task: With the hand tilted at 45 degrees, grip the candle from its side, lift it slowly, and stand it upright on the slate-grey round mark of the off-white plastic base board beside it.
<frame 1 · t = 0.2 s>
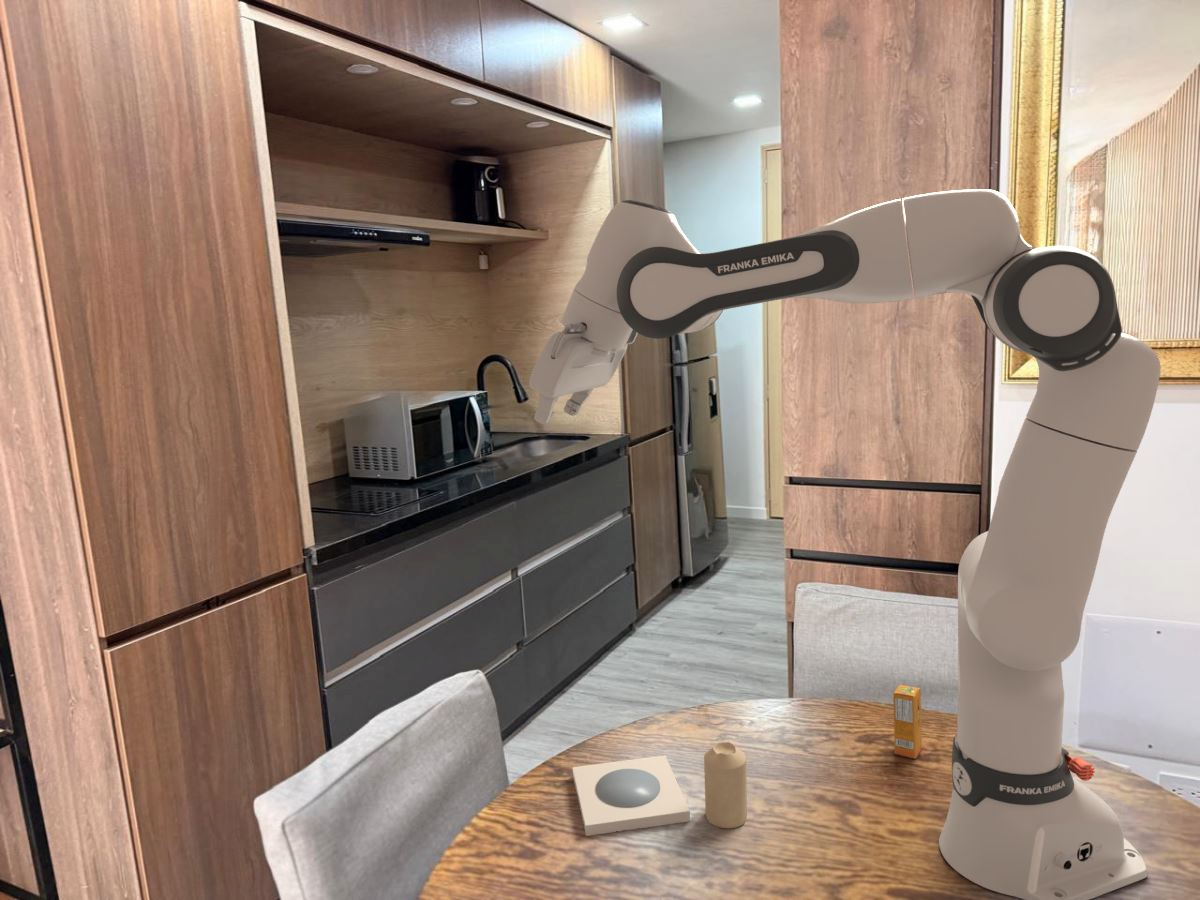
hand: (556, 417, 108), 54 cm above the table, tool tilted 30°, fingers open, 8 cm apart
supplement box: (906, 753, 122), on the table
candle: (726, 817, 108), on the table
base board: (628, 797, 114), on the table
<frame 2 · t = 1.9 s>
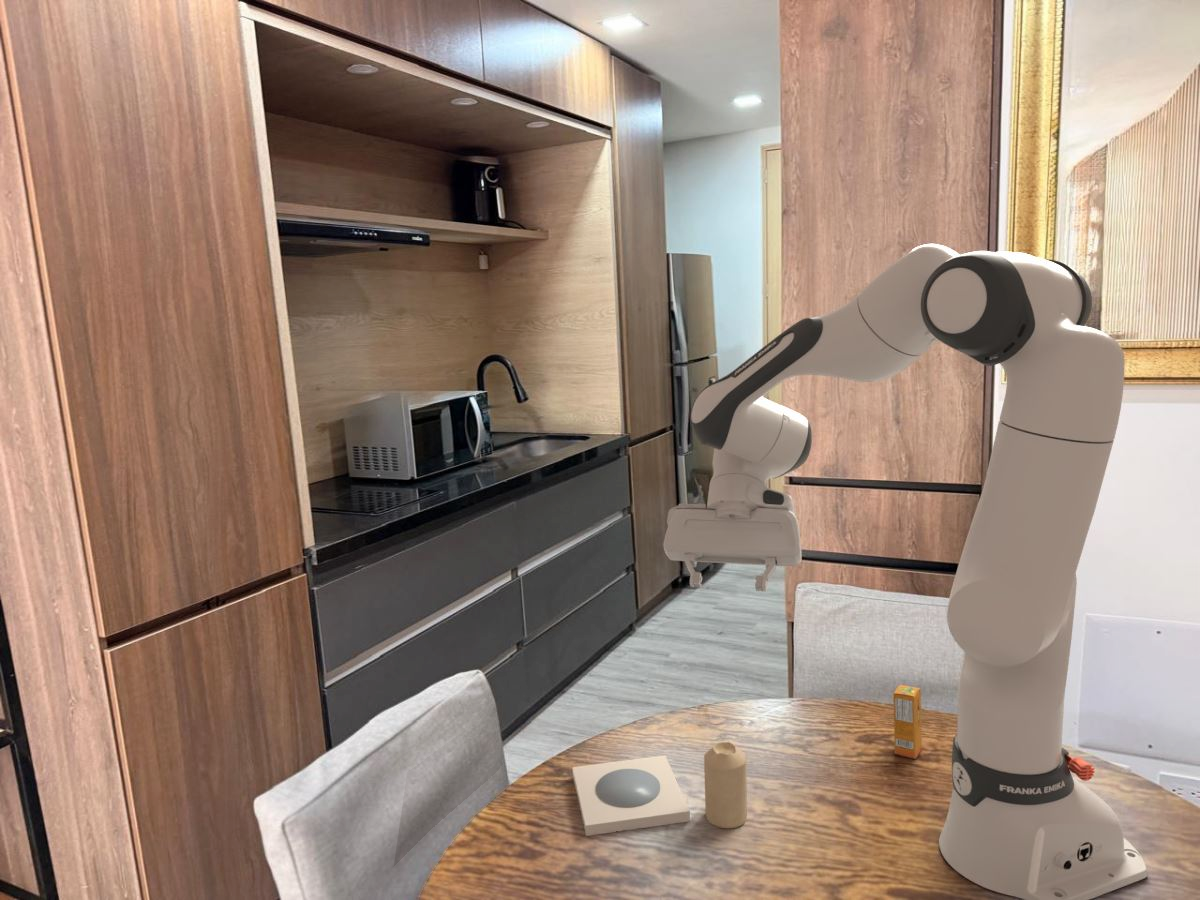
hand: (727, 587, 117), 27 cm above the table, tool tilted 45°, fingers open, 8 cm apart
nothing on the table moved.
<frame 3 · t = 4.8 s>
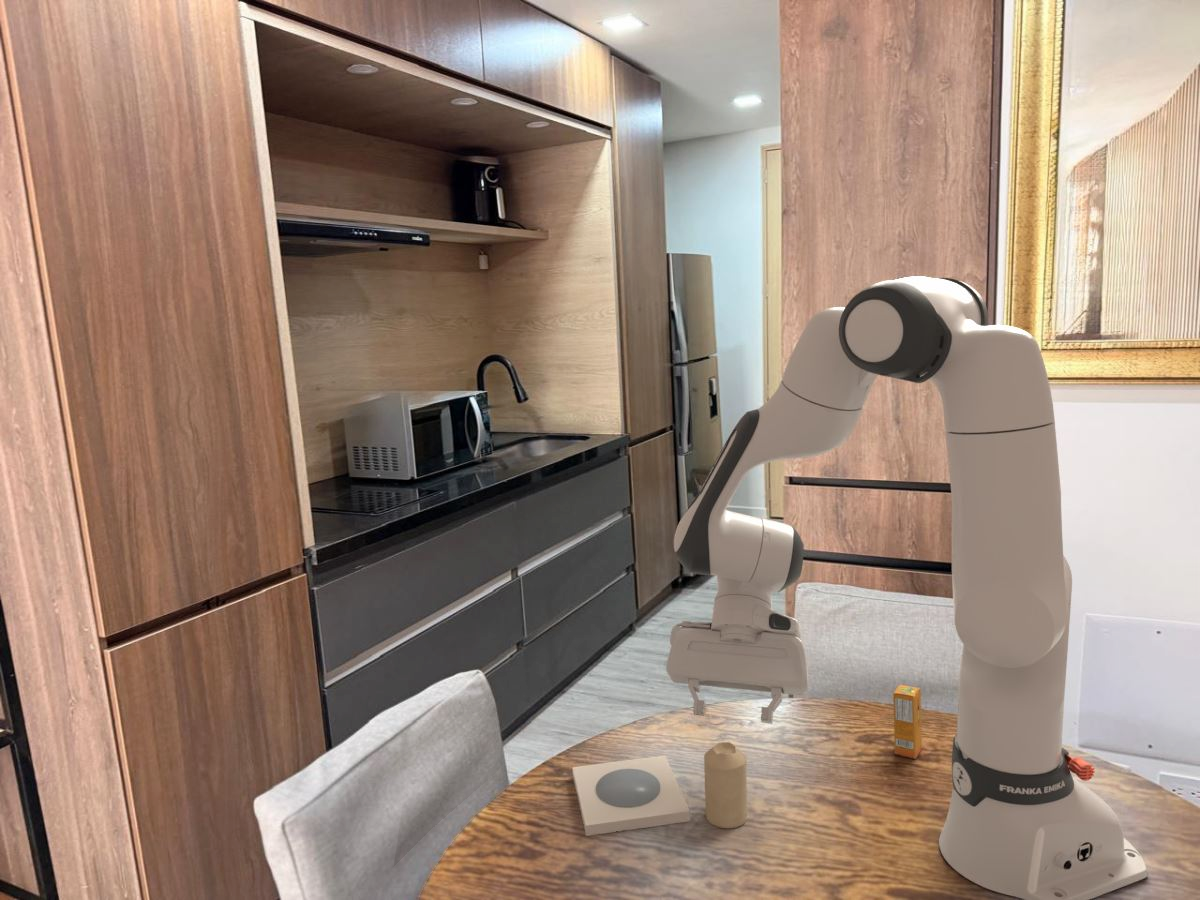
hand: (732, 718, 113), 11 cm above the table, tool tilted 45°, fingers open, 8 cm apart
nothing on the table moved.
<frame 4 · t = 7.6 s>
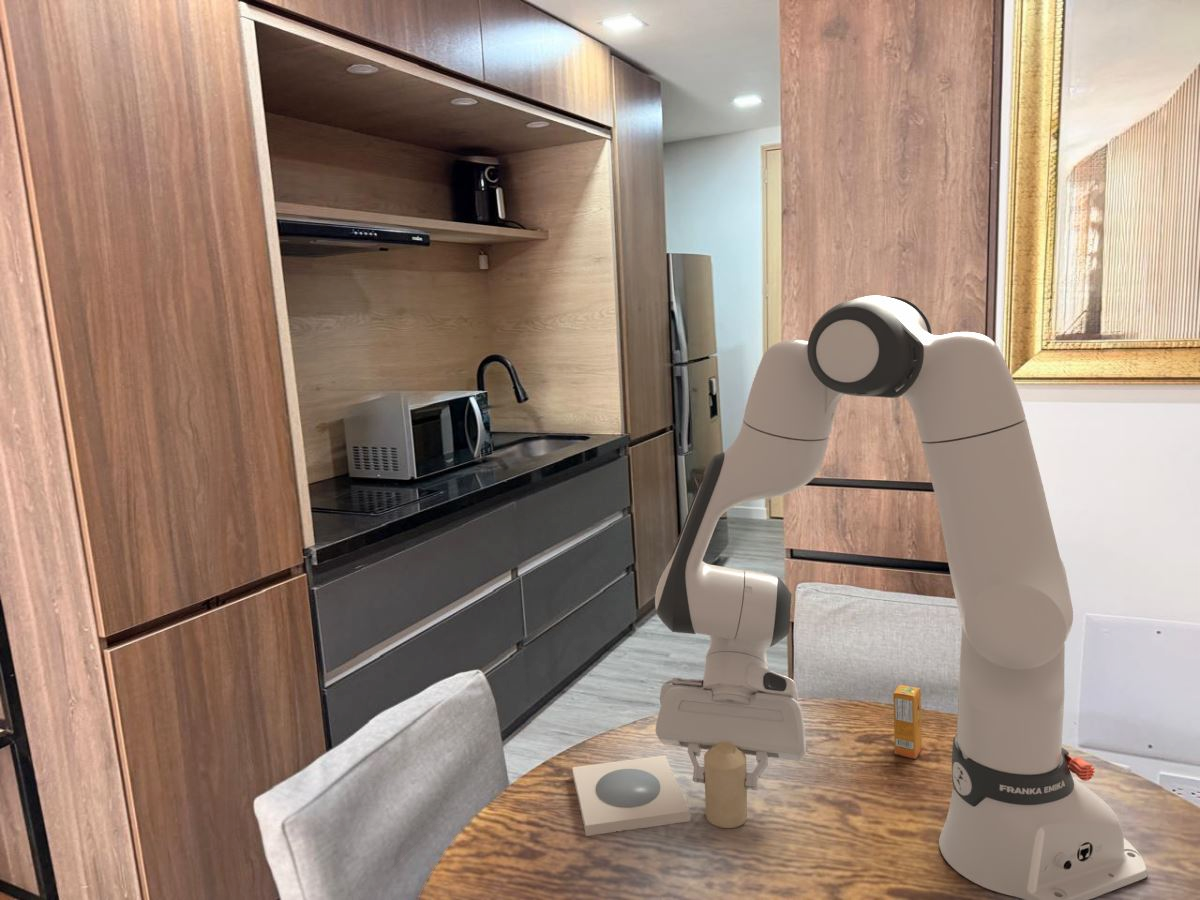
hand: (724, 785, 107), 5 cm above the table, tool tilted 45°, fingers closed on candle, 5 cm apart
candle: (726, 817, 108), on the table, touching gripper
everything else where it was.
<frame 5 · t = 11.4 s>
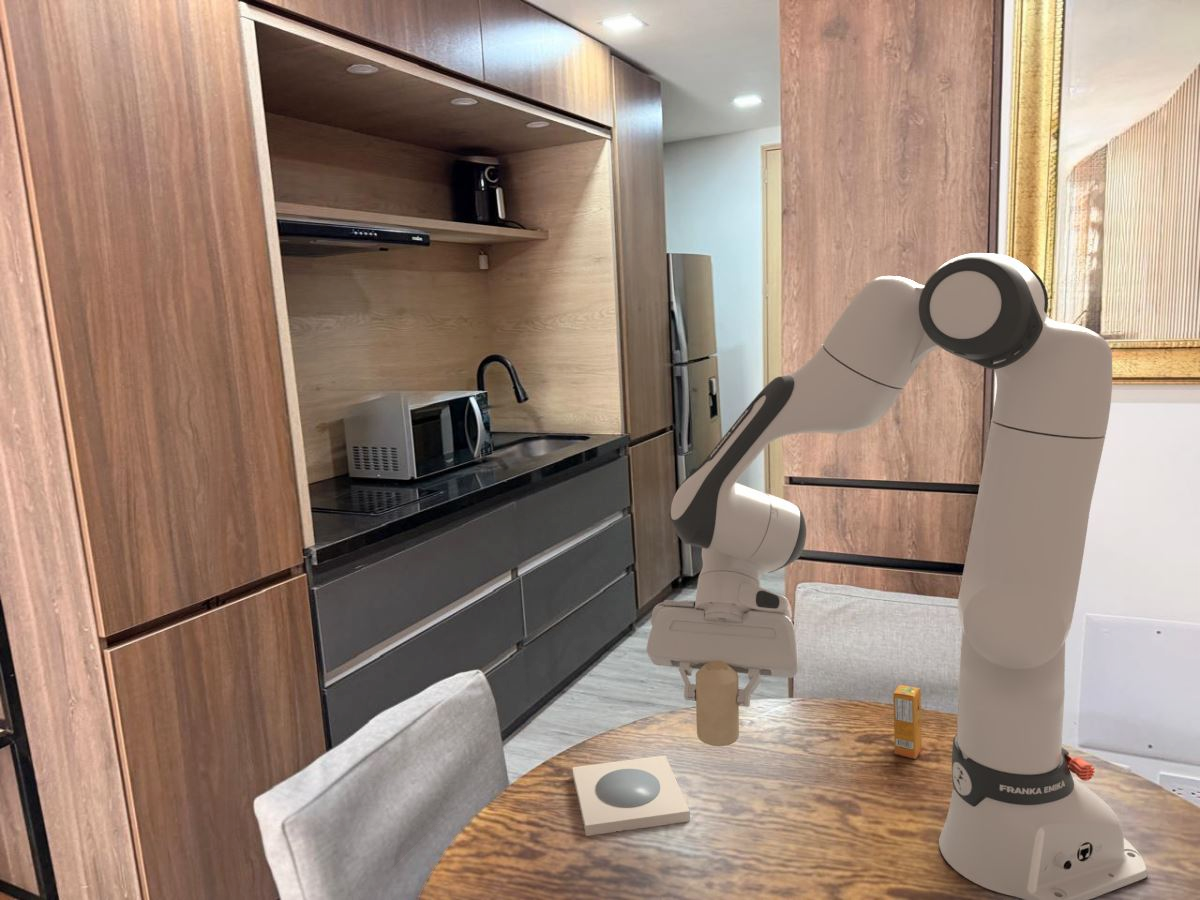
hand: (716, 702, 105), 17 cm above the table, tool tilted 45°, fingers closed on candle, 5 cm apart
candle: (717, 737, 107), point 11 cm above the table, touching gripper
everything else where it was.
when the fingers open (7 cm above the table, at t = 15.4 s): candle stays where it is, resting on base board.
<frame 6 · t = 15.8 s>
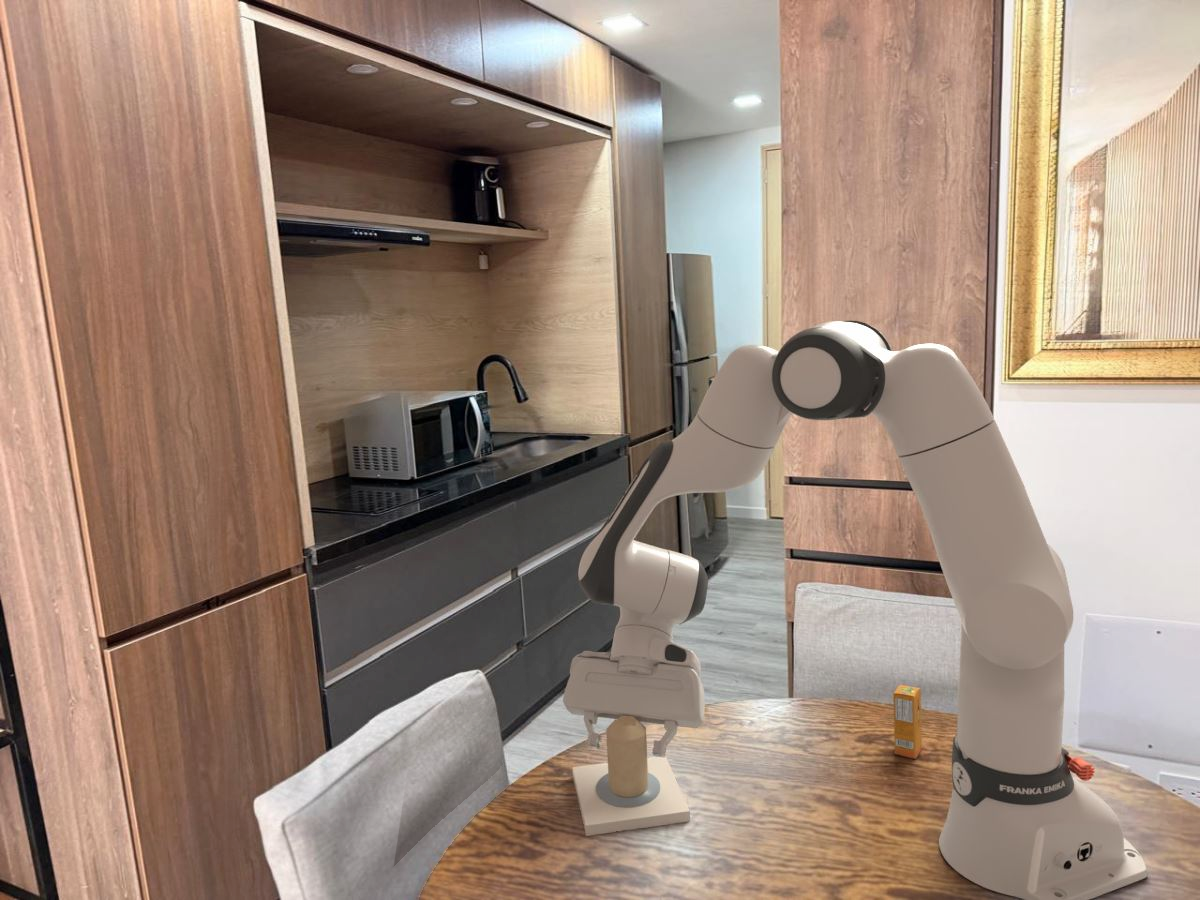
hand: (625, 751, 112), 7 cm above the table, tool tilted 45°, fingers open, 8 cm apart
candle: (628, 787, 113), point 2 cm above the table, touching base board
everything else where it was.
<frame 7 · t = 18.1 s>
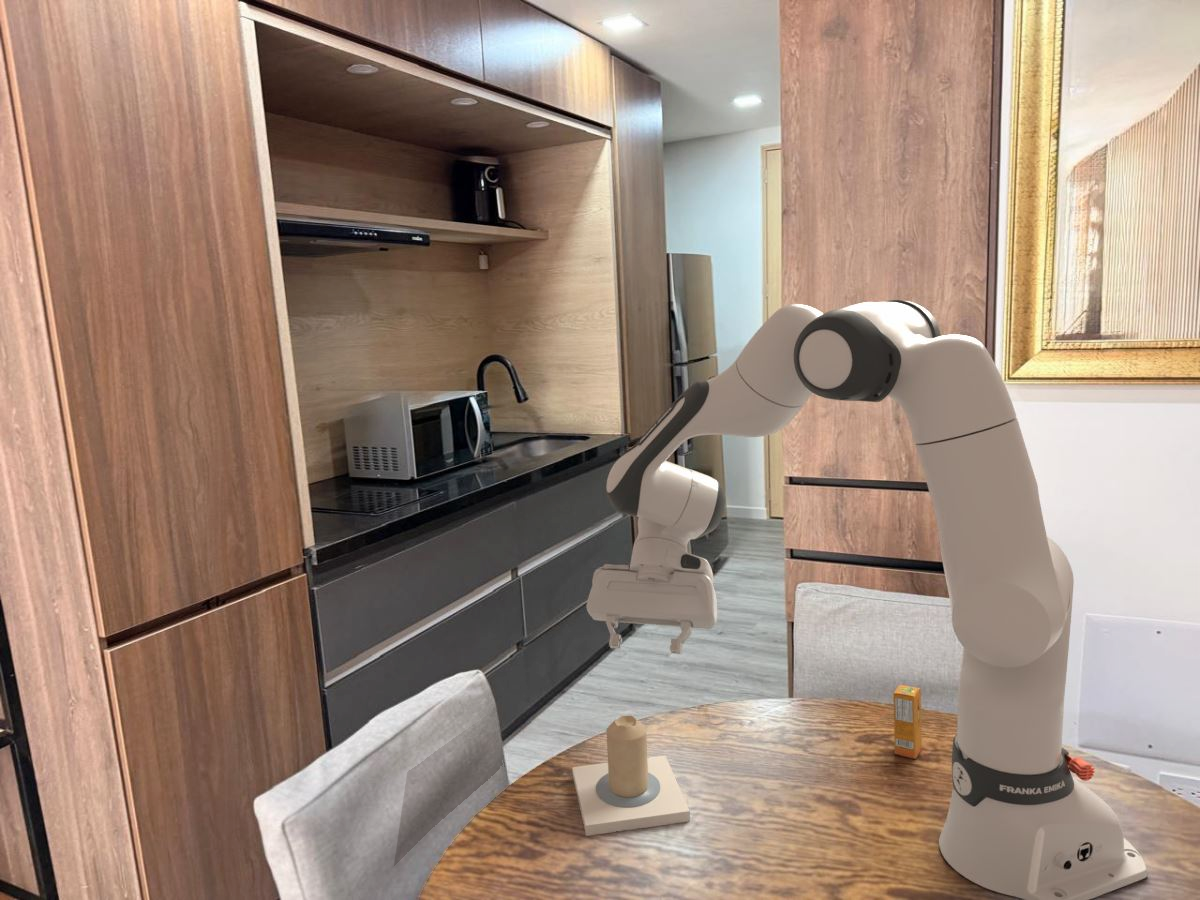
hand: (644, 649, 122), 17 cm above the table, tool tilted 45°, fingers open, 8 cm apart
nothing on the table moved.
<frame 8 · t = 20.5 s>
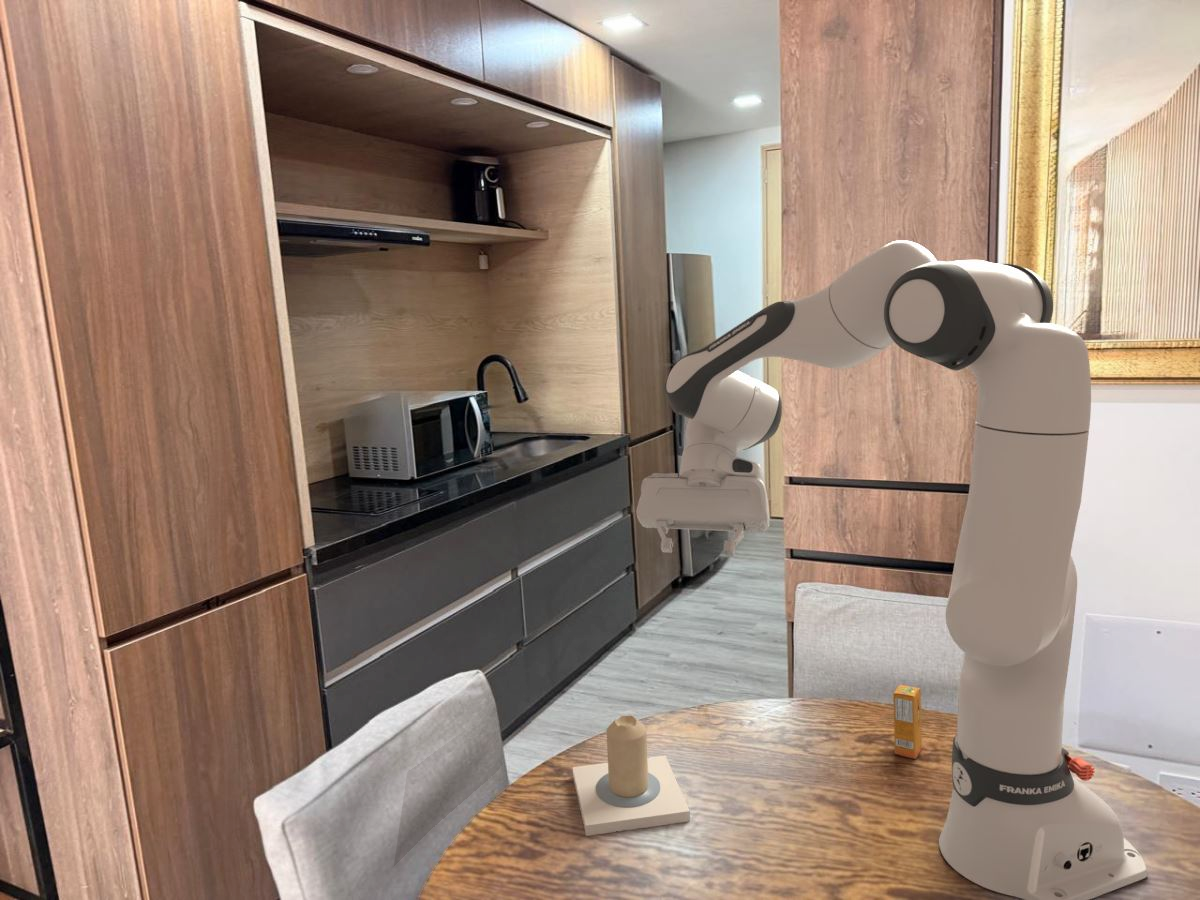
hand: (697, 552, 120), 31 cm above the table, tool tilted 45°, fingers open, 8 cm apart
nothing on the table moved.
at the end: candle 0.1 cm off-centre on the base board, point 1.5 cm above the base board's base; candle tilted 0°; the gripper is holding nothing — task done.
